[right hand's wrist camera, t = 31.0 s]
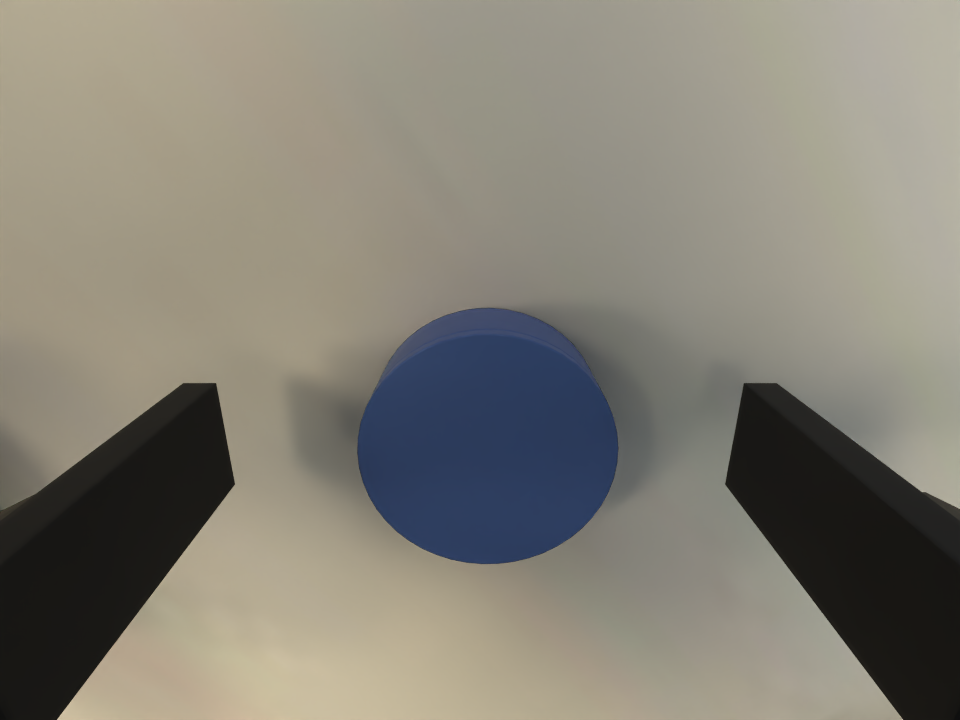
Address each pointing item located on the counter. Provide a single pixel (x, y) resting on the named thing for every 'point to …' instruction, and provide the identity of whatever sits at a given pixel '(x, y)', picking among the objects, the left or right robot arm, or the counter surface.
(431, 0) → the counter surface
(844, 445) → the right robot arm
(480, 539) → the lid
